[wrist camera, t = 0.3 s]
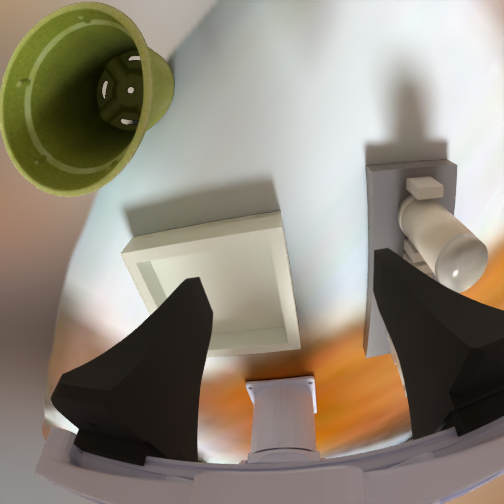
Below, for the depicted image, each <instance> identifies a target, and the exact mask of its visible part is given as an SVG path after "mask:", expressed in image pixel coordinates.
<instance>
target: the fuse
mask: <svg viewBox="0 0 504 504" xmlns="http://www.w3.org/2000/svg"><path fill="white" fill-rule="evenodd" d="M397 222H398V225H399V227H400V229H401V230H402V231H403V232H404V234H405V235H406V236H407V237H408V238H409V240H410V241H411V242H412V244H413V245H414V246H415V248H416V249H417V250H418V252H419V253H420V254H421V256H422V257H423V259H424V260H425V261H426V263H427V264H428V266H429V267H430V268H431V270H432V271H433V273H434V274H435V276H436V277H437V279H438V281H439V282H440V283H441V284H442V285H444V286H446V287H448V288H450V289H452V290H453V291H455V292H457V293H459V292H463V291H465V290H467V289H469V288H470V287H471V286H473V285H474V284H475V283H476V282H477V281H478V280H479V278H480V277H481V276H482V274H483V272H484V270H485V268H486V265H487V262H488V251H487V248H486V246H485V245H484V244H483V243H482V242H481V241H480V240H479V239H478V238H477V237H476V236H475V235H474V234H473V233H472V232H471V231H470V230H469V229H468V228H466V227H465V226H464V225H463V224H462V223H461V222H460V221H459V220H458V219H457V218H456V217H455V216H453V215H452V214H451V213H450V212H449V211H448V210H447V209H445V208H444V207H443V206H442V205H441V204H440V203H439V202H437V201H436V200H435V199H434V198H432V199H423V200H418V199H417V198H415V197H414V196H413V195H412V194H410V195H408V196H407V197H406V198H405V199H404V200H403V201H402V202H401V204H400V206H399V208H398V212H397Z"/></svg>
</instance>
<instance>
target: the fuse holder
mask: <svg viewBox="0 0 504 504" xmlns="http://www.w3.org/2000/svg"><path fill="white" fill-rule="evenodd" d="M366 176H367V193H368V225H369V259H368V290H367V308H366V322H365V334H364V344H363V348H364V352H365V356H366V358H369V357H374V356H379V355H384V354H389V353H391V355H392V358H393V361H394V364H396V362H395V359H394V356H393V353H392V350H391V347H390V344H389V342H388V339H387V336H386V331H387V328H386V326H385V324H384V321H383V319H382V317H381V314H380V312H379V309H378V306H377V303H376V299H375V296H374V292H373V274H374V250H378V249H384V248H389V249H391V250H392V251H394V252H395V253H396V254H398V255H399V256H401V257H402V258H403V259H405V260H406V261H408V262H409V263H410V264H412V265H413V266H415V267H416V268H417V269H419V270H420V271H422V272H423V273H425V274H427V273H431V275H432V276H433V278H434V279H435V280H436V281H437V282H439V281H438V279H437V277H436V276H435V274H434V273H433V271H432V270H431V268H430V267H429V266H428V264H427V263H426V261H425V260H424V259H423V257H422V256H421V254H420V253H419V252H418V250H417V249H416V248H415V246H414V245H413V244H412V242H411V241H410V240H409V238H408V237H407V236H406V235H405V234H404V232H403V231H402V230H401V229H400V227H399V225H398V222H397V212H398V208H399V206H400V204H401V202H402V201H403V200H404V199H405V198H406V197H407V196H408V195H410V194H412V195H413V196H414V197H415V198H417V199H418V200H423V199H432V198H434V199H435V200H436V201H437V202H439V203H440V204H441V205H442V206H443V207H444V208H445V209H447V210H448V211H449V212H450V213H451V214H452V215H453V216H454V208H455V196H456V181H457V165H456V164H454V163H452V162H451V161H449V160H429V161H414V162H401V163H389V164H378V165H368V166H366ZM439 283H440V282H439Z"/></svg>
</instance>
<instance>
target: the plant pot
mask: <svg viewBox="0 0 504 504" xmlns="http://www.w3.org/2000/svg"><path fill="white" fill-rule="evenodd" d="M131 56H140V59H141V60H131V61H129V60H128V59H129V58H130V57H131ZM105 81H108V84H107V88H106V95H105V99H104V98H103V94H102V87H103V84H104V82H105ZM129 87H133V88H134V92H133V93H128V88H129ZM173 95H174V78H173V73H172V71H171V69H170V67H169V65H168V64H167V62H166V61H165V60H164V59H163V58H162V57H161V56H160V55H159V54H157V53H156V52H154V51H153V50H152V49H150V48H149V47H147V44H146V42H145V39H144V38H143V36H142V34H141V32H140V30H139V29H138V27H137V26H136V25H135V23H134V22H133V21H132V20H131V19H130V18H129V17H128V16H126V15H125V14H124V13H123V12H121V11H119V10H117V9H116V8H114V7H112V6H109V5H106V4H103V3H98V2H81V3H75V4H71V5H68V6H65V7H62V8H60V9H58V10H56V11H54V12H52V13H51V14H49V15H47V16H46V17H44V18H43V19H42V20H41V21H39V22H38V23H37V24H36V25H35V26H34V27H32V29H31V30H30V31H29V32H28V33H27V34H26V35H25V37H24V38H23V39H22V40H21V42H20V43H19V45H18V46H17V48H16V49H15V51H14V53H13V55H12V57H11V59H10V61H9V63H8V66H7V68H6V71H5V74H4V77H3V81H2V85H1V91H0V129H1V134H2V137H3V141H4V145H5V147H6V150H7V152H8V155H9V157H10V159H11V160H12V162H13V164H14V165H15V167H16V168H17V170H18V171H19V172H20V173H21V174H22V175H23V177H25V178H26V180H28V181H29V182H30V183H32V184H33V185H34V186H35V187H37V188H39V189H40V190H42V191H44V192H46V193H49V194H53V195H57V196H62V197H73V196H81V195H85V194H89V193H91V192H94V191H96V190H98V189H100V188H101V187H103V186H104V185H106V184H107V183H109V182H110V181H111V180H113V179H114V178H115V177H116V176H117V175H118V174H119V173H120V172H121V171H122V170H123V169H124V168H125V166H126V165H127V164H128V163H129V161H130V160H131V158H132V157H133V156H134V154H135V152H136V150H137V149H138V147H139V145H140V143H141V141H142V138H143V136H144V134H145V132H146V131H147V130H148V129H150V128H151V127H152V126H153V125H154V124H156V123H157V122H158V121H159V120H160V119H161V118H162V117H163V116H164V114H165V113H166V111H167V110H168V108H169V106H170V104H171V102H172V99H173ZM121 119H126V120H137V121H138V122H137V124H128V125H126V124H123V123H121Z"/></svg>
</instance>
